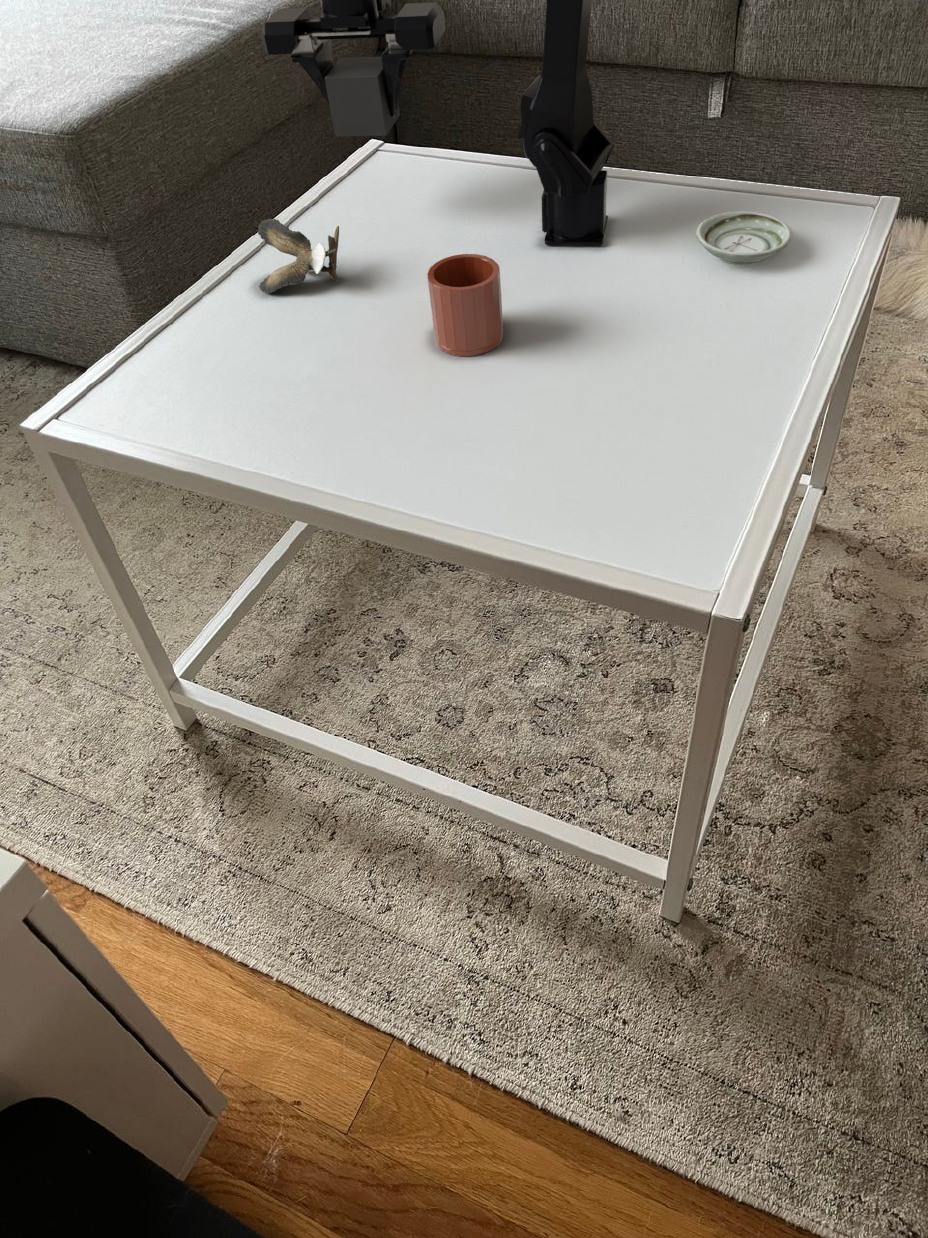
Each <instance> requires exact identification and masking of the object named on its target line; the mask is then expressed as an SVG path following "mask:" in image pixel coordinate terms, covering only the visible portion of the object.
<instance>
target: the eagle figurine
mask: <svg viewBox="0 0 928 1238" xmlns="http://www.w3.org/2000/svg"><path fill="white" fill-rule="evenodd" d="M257 228H258V231H257V235H259V237H260V239H261V240H263V241H264V243H265V244H267V245H269V246H271V247H272V248H274V249H276V250H278V251H279V252H281V253H283V254H287V255H290V256H293V257H296V260H294V261H292V262H291V263H289V264H287V265H284V266H280V267H278V268H277V269H275V270H273V272H271V274H269V275H268V276H267V277H266V278H263V281H261V282H260V283H259V285H258V288H259V290H260V291H262V293H265V294H270V293H273V292H277V290H280V289H282V288H284V287H287V286H289V285H291V286H294V285H295V286H296V285H298V284H299V283H301V282H303V281H304V280H305V279H306V278H307V274H308V273H309V272H310V271H313V272H314V273H315V274H316V275H319V273H320V272H322V273H328V274H329V276H330V277H331V279H332V280H333V281H335V282H336V283H337V282H338V274H337V268H338V266H337V263H338V262H337V261H338V249H339V238H340V226H339V225H337V226H336V227H335V231H334V234H333V236H331V235H327V245H328V249H327V250H326V248H325V246H324V244H323V243H322V242H318V243H317V245H315V247H314V248H313V249H312V243H311V240H310V239H308V237H307V236H305V235H304V234H303V233H302V232H301V231H295V230H292V229H290V228H289V226H286V225H285V224H283V223H281V222H280V220H279V219H276V218H273V219H272V218H267V219H264V220H261V222H260V223H259V226H257ZM327 257H328V266H326V265H325V260H326V258H327Z"/></svg>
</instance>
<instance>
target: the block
mask: <svg viewBox="0 0 928 1238" xmlns="http://www.w3.org/2000/svg"><path fill="white" fill-rule="evenodd" d="M333 66H334V67H333V68H332V69H331V70H330V72H329V73H328V74H327V75H326V77H325V83H326V88H327V94H328V99H329V104H330V105H329V104H328V105H329V109H330V115H331V120H332V126H333V131H334V135H335V137H377V136H378V137H381V136H382V137H383V136H384V137H385V136H387V135H389V133H390V131H391V130H392V128H393V126H394V125H395V123H396V122H397V120H398V118H399V117H400V115H401V110H400V109H401V107H400V101H399V100H398V106H397V112H396V114H395V116H393V117H391V115H390V111H389V107H388V103H387V96H386V88H385V80H384V72H383V64H382V56H381V55H380V56H353V57H352V56H351V57H350V56H349V57H340V59H338V61H337V62H336V63H335V64H334V65H333Z"/></svg>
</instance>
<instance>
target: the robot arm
mask: <svg viewBox="0 0 928 1238" xmlns="http://www.w3.org/2000/svg"><path fill="white" fill-rule="evenodd" d="M592 5H593V0H546V4H545V6H546V7H545V20H544V36H543V50H542V68H541V73H540V75H538V76H536V78H535V79H534V80H533V82H532V83H531V84H530V85H529V86H528V88H526V89H525V91H524V92H523V94H522V95H521V96H520V105H519V107H520V117H521V123H520V129H519V131H518V134H517V139H518V140H521V139H523V141H522V145H523V152H524V156H525V158H526V159H528V160H529V161H530V163H531V164H532V166H533V167H535V169H536V171H537V175H538V177H539V180H540V183H541V186H542V188H543V191H542V194H541V231H542V232H543V233H545V237H544V245H545V246H583V247H584V246H585V247H589V246H590V247H591V246H592V247H599V246H602V245H604V240H605V237H606V231H607V228H608V222H609V215H607V194H608V193H607V192H608V191H607V190H608V171H607V170H605V169H604V167H605V165H607V164H608V162H609V160H610V157H611V155H612V153H613V150H614V143H613V141H612V140H611V139H610V138H609V137H608V136H607V135H606V133H605V132H604V131H603V130H602V128H600V126H599V125H598V124H597V123H596V121H594V106H593V91H592V86H591V83H590V78H589V75H588V70H587V56H588V46H589V35H590V28H591V27H590V26H591V16H592V15H591V14H592ZM320 6H321V12H322V14H321V16H319V18H314V16H313V13H312V12H311V10H310V9H309V7H296V8H294V7H293V8H278V10H276V11H275V12H274V13H273V14H272V15H271V16H270V17H269V18H268V19H267V20H266V21H265V22H264V24H263V25H262V27H261V39H262V45H263V48H264V53H265V54H266V55H268V56H271V55H272V56H273V55H274V56H275V55H290V57H289V58H290V61H291V62H292V63H297V64H299V65H300V66H301V67H302V69H303V70H304V71H305V72H306V74H307V75H308V76H309V77H310V78H311V80H312V81H313V83H314V85H316V87H317V88H318V90H319V91H320V93H321V94H322V96H323V98H324V99H325V101H326V102H327V105H328V106H330V104H329V99H328V94H327V88H326V83H325V77H326V75H327V74H328V73H329V72H330V70H331V69H332V68H333V67H334V66H335V65H334V62H333V46H332V44H333V42H332V40H353V39H354V40H355V39H377V38H378V39H379V38H383V39H384V38H385V41H386V43H387V46H386V48H385V50H384V51H383V52H382V53H381V55H380V57H381V56H382V64H383V72H384V80H385V88H386V96H387V103H388V107H389V111H390V115H391V117H393V116H395V114H396V112H397V106H398V101H399V98H400V93H401V86H402V79H403V75H404V70H405V66H406V63H407V59H410V58H411V57H412V56H413V53H414V52H415V51H424V50H430V49H434V48H436V46H437V44H438V43H439V42H440V40H441V39H442V37H443V36H444V34H445V32H446V22H445V20H446V19H445V12H444V10H443V8H442V7H441V5H440V4H439V3H438V2H437V1H434V2H431V1H430V2H411V3H405V4H404V5H403V6H402V8H401V9H400V10H399V12H398V13H397V14H396V15H379V12H384V11H385V10H386V9H387V10H388V9H391V8H392V0H320ZM603 169H604V170H603Z"/></svg>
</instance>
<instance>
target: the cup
mask: <svg viewBox="0 0 928 1238" xmlns="http://www.w3.org/2000/svg"><path fill="white" fill-rule="evenodd" d="M426 276H427V285H428V292H429V302H430V309H431V317H432V325H433V333H434V340H435V345H436V346H437V347H438V349H439V350H441V351H442V352H444V353H445V354H448V355H451V356H455V357H475V356H479V355H483V354H486V353H488V352H490V351H492V350H494V349H496V348H497V347H498V346H499V345H500V344H501V343H502V341H503V339H504V317H503V302H502V300H503V299H502V285H501V270H500V266H499V264H498V263H497V262H496V260H494V259H493V258H491V257H489V256H486V255H483V254H479V253H478V254H477V253H462V254H455V255H450V256H447V257H444V258H441V259H440V260H437V261H435V263H434V264H433V265H431V266H430V267H429V269H428V271H427V273H426Z"/></svg>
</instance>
